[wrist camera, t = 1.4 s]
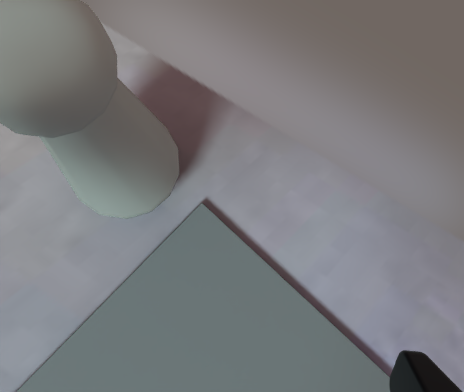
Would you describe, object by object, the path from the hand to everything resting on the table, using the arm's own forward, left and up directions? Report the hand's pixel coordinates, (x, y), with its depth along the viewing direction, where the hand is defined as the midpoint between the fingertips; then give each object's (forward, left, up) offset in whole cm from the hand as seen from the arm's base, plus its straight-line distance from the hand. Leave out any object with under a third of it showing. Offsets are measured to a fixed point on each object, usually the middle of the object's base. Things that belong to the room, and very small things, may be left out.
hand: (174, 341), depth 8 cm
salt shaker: (+3, +9, -14) cm, 16 cm away
